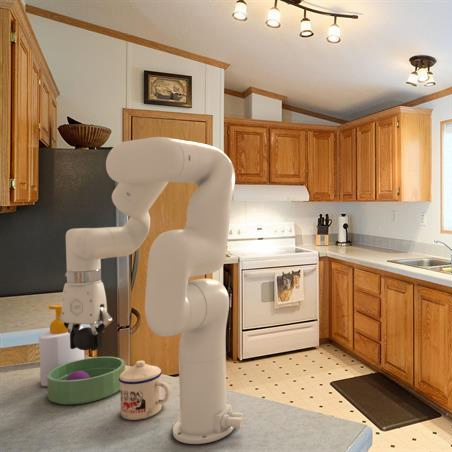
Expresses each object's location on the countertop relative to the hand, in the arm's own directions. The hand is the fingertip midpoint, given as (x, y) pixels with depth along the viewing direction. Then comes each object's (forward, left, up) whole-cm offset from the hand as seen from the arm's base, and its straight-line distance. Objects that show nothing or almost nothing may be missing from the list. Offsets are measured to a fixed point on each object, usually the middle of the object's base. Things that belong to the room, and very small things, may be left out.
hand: (86, 347), depth 109 cm
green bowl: (+2, -2, -12) cm, 12 cm away
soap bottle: (+16, -8, -12) cm, 21 cm away
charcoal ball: (0, 0, -1) cm, 1 cm away
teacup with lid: (-21, +5, -12) cm, 25 cm away
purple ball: (+2, +1, -11) cm, 12 cm away
